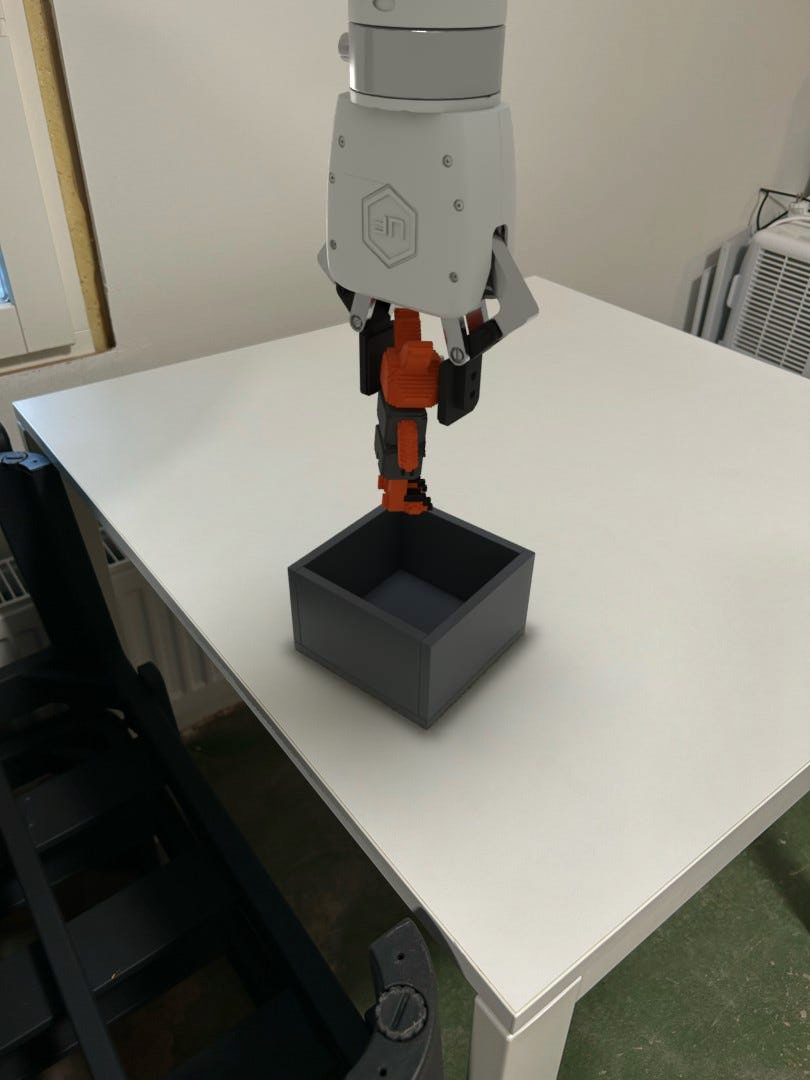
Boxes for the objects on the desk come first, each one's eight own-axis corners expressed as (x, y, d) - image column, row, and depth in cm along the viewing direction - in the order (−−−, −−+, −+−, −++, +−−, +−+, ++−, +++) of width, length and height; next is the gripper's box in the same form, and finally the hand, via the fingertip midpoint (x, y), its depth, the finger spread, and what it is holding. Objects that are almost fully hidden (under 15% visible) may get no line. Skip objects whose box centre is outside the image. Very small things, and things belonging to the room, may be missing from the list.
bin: (294, 648, 62) (286, 567, 58) (398, 568, 70) (399, 491, 66) (427, 730, 56) (430, 646, 51) (525, 632, 64) (535, 552, 59)
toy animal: (467, 531, 52) (496, 356, 45) (382, 533, 51) (398, 354, 44) (443, 464, 59) (466, 300, 51) (367, 464, 58) (379, 298, 50)
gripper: (248, 58, 42) (276, 383, 53) (536, 95, 34) (500, 473, 45) (346, 46, 47) (353, 347, 58) (620, 77, 39) (568, 422, 49)
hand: (417, 399), depth 51 cm, fingers closed on toy animal, 5 cm apart
